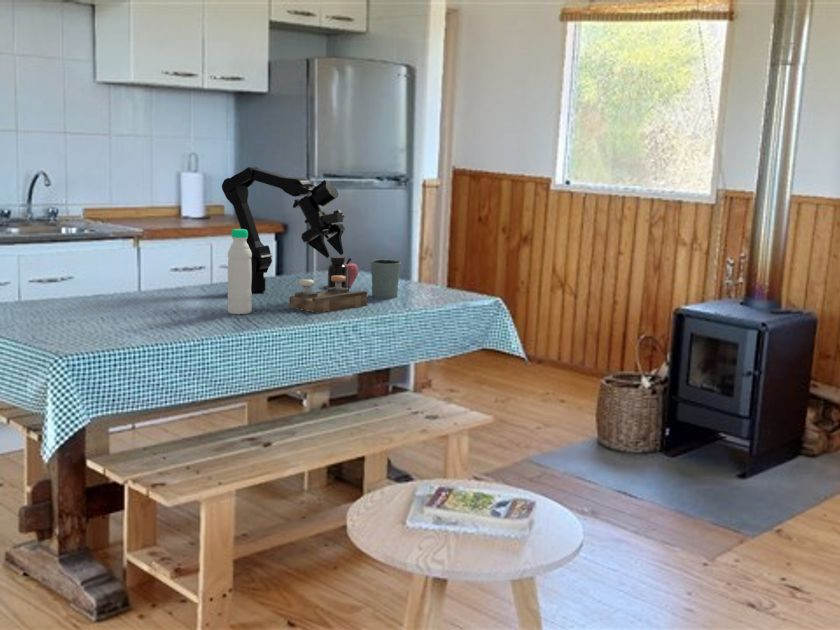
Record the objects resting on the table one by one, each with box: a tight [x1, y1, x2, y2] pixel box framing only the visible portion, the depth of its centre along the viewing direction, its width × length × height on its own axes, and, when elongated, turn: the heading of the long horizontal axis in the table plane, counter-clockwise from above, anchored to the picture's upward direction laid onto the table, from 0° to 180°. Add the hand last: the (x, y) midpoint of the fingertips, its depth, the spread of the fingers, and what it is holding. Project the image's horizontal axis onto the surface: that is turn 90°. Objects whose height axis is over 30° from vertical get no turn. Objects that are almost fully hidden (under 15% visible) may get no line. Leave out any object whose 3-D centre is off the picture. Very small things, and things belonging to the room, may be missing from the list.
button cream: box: [298, 278, 315, 294], centre depth 305 cm, size 5×5×6 cm
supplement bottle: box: [327, 255, 349, 289], centre depth 337 cm, size 7×7×12 cm
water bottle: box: [227, 228, 253, 316], centre depth 292 cm, size 7×7×25 cm
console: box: [288, 287, 368, 313], centre depth 309 cm, size 12×22×5 cm, turn 140°
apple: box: [344, 257, 360, 287], centre depth 349 cm, size 10×9×10 cm
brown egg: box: [331, 275, 346, 289], centre depth 315 cm, size 5×5×6 cm
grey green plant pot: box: [370, 258, 402, 300], centre depth 331 cm, size 10×10×12 cm
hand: (335, 255), depth 317 cm, fingers open, 9 cm apart
